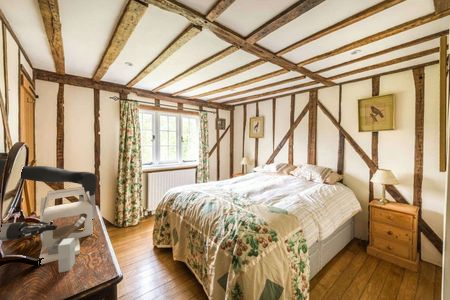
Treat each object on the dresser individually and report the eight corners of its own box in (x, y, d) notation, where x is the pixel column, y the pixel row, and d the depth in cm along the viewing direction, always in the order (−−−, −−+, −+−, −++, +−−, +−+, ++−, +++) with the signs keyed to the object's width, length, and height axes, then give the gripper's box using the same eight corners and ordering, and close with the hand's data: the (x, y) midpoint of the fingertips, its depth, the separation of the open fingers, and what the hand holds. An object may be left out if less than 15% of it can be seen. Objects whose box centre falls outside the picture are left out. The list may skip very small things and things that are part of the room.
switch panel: (41, 250, 100) (41, 239, 99) (78, 241, 109) (78, 231, 109) (38, 265, 89) (38, 252, 88) (80, 253, 98) (79, 241, 98)
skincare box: (63, 264, 89) (63, 238, 89) (75, 262, 91) (74, 237, 90) (58, 273, 84) (57, 245, 83) (70, 270, 85) (69, 243, 85)
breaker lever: (60, 238, 101) (82, 216, 103) (64, 240, 101) (85, 219, 104) (54, 244, 95) (77, 220, 98) (58, 246, 96) (81, 223, 98)
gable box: (42, 248, 102) (41, 195, 100) (40, 239, 110) (38, 190, 109) (93, 234, 118) (92, 187, 116) (87, 227, 127) (86, 184, 125)
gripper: (-1, 229, 86) (49, 225, 91) (20, 218, 98) (62, 214, 104) (0, 246, 86) (49, 241, 91) (20, 232, 98) (62, 228, 104)
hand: (56, 227), depth 98 cm, fingers closed
